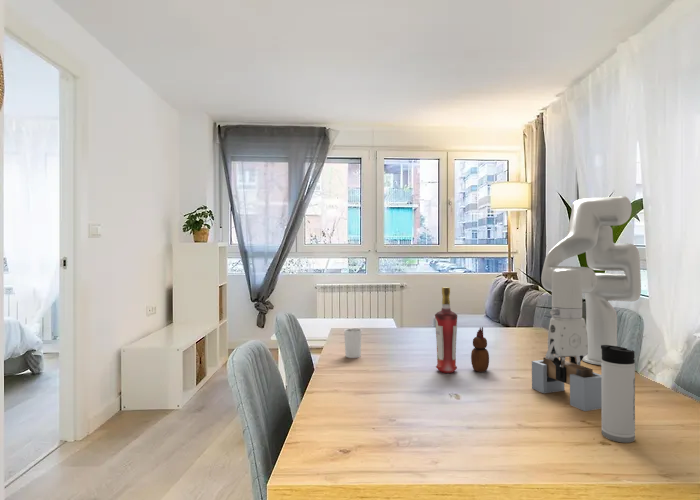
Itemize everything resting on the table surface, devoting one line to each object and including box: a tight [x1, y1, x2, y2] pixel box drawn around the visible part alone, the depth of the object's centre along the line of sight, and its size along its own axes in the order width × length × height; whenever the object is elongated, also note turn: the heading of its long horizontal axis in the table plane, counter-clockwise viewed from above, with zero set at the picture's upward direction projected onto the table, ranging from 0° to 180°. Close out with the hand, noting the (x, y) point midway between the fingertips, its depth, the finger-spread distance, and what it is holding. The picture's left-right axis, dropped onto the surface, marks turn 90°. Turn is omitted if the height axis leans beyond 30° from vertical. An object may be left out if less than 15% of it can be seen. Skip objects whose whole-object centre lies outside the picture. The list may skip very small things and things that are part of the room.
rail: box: [542, 356, 594, 386], centre depth 122 cm, size 3×14×5 cm, turn 18°
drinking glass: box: [343, 327, 362, 359], centre depth 170 cm, size 7×7×10 cm
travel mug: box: [600, 345, 636, 444], centre depth 97 cm, size 6×7×20 cm
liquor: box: [434, 286, 458, 374], centre depth 148 cm, size 7×7×28 cm
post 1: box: [531, 359, 566, 394], centre depth 129 cm, size 7×5×8 cm, turn 108°
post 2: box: [569, 371, 602, 412], centre depth 115 cm, size 7×5×8 cm, turn 108°
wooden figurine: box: [470, 326, 490, 373], centre depth 149 cm, size 7×6×15 cm
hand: (567, 379), depth 122 cm, fingers closed on rail, 3 cm apart
